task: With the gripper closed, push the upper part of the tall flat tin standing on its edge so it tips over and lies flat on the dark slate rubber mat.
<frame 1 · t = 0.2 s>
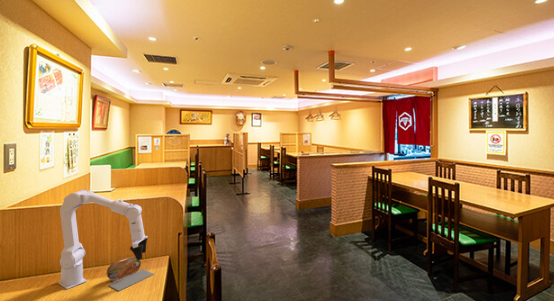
hand: (141, 255, 125), 10 cm above the table, tool pointing down, fingers open, 7 cm apart
slate mat: (132, 279, 122), on the table
tin: (124, 276, 126), on the table
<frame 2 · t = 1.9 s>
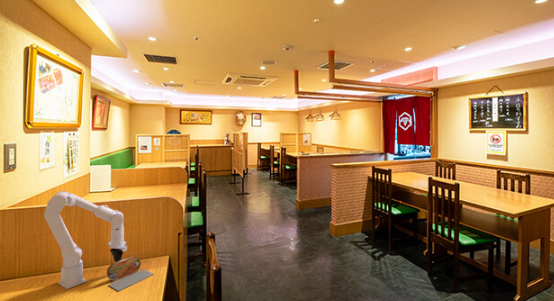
hand: (117, 261, 129), 6 cm above the table, tool pointing down, fingers closed
nothing on the table moved.
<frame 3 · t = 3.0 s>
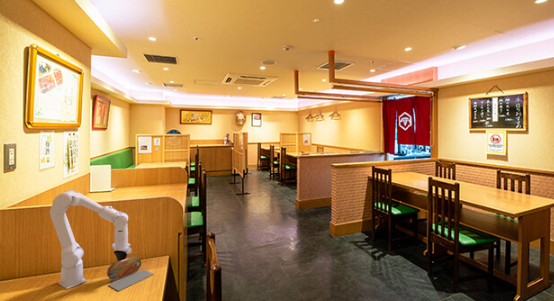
hand: (121, 264, 127), 5 cm above the table, tool pointing down, fingers closed
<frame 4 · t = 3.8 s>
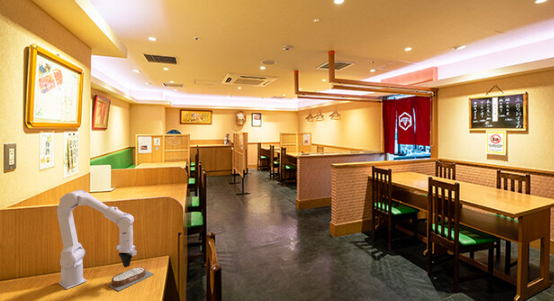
hand: (126, 266, 125), 5 cm above the table, tool pointing down, fingers closed
tin: (125, 272, 125), point 2 cm above the table, touching slate mat
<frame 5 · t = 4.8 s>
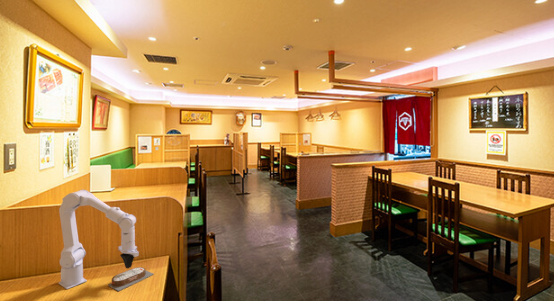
hand: (128, 267, 124), 5 cm above the table, tool pointing down, fingers closed
nothing on the table moved.
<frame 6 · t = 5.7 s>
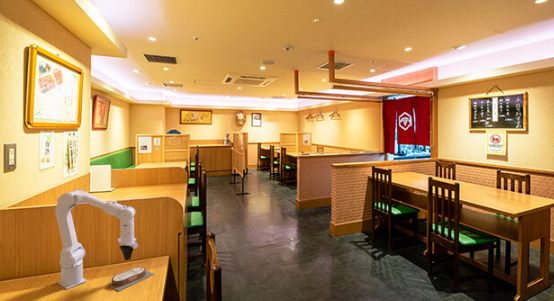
hand: (127, 259, 124), 9 cm above the table, tool pointing down, fingers closed
nothing on the table moved.
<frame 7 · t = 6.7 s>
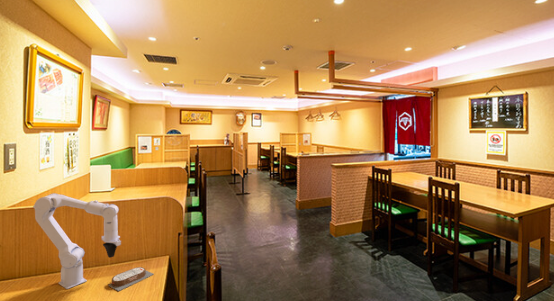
hand: (111, 256, 124), 10 cm above the table, tool pointing down, fingers closed
nothing on the table moved.
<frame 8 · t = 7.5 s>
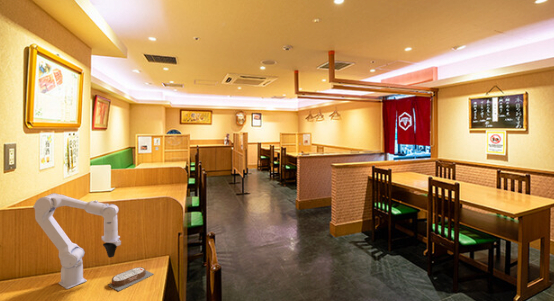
hand: (111, 256, 124), 10 cm above the table, tool pointing down, fingers closed
nothing on the table moved.
at the end: tin tilted 94°; tin touching slate mat; the gripper is holding nothing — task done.
